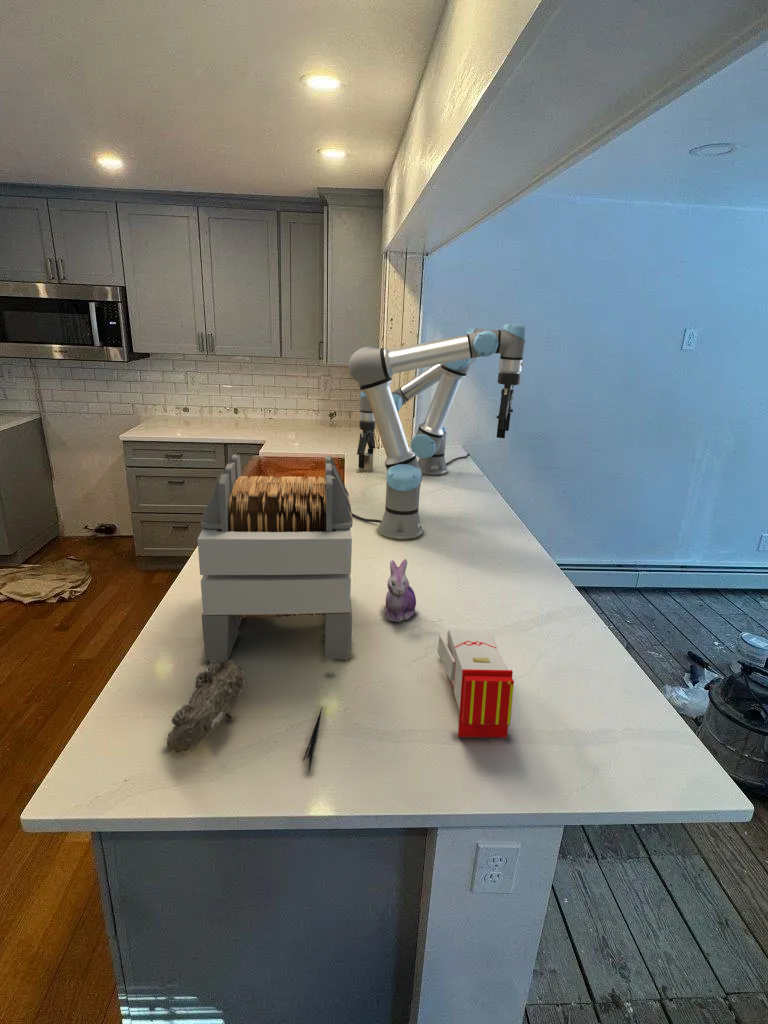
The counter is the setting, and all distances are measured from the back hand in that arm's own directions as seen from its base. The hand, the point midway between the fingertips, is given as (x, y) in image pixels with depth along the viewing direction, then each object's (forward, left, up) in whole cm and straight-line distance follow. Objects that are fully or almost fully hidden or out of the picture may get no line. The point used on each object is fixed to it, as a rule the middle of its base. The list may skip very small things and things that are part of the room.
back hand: (365, 464), depth 275 cm
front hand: (+44, +73, +32) cm, 91 cm away
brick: (0, 0, -3) cm, 3 cm away
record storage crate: (+138, +42, -3) cm, 144 cm away
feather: (+164, +68, -3) cm, 178 cm away
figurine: (+120, +67, -3) cm, 138 cm away
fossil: (+173, +49, -3) cm, 180 cm away
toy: (+143, +92, -3) cm, 170 cm away
